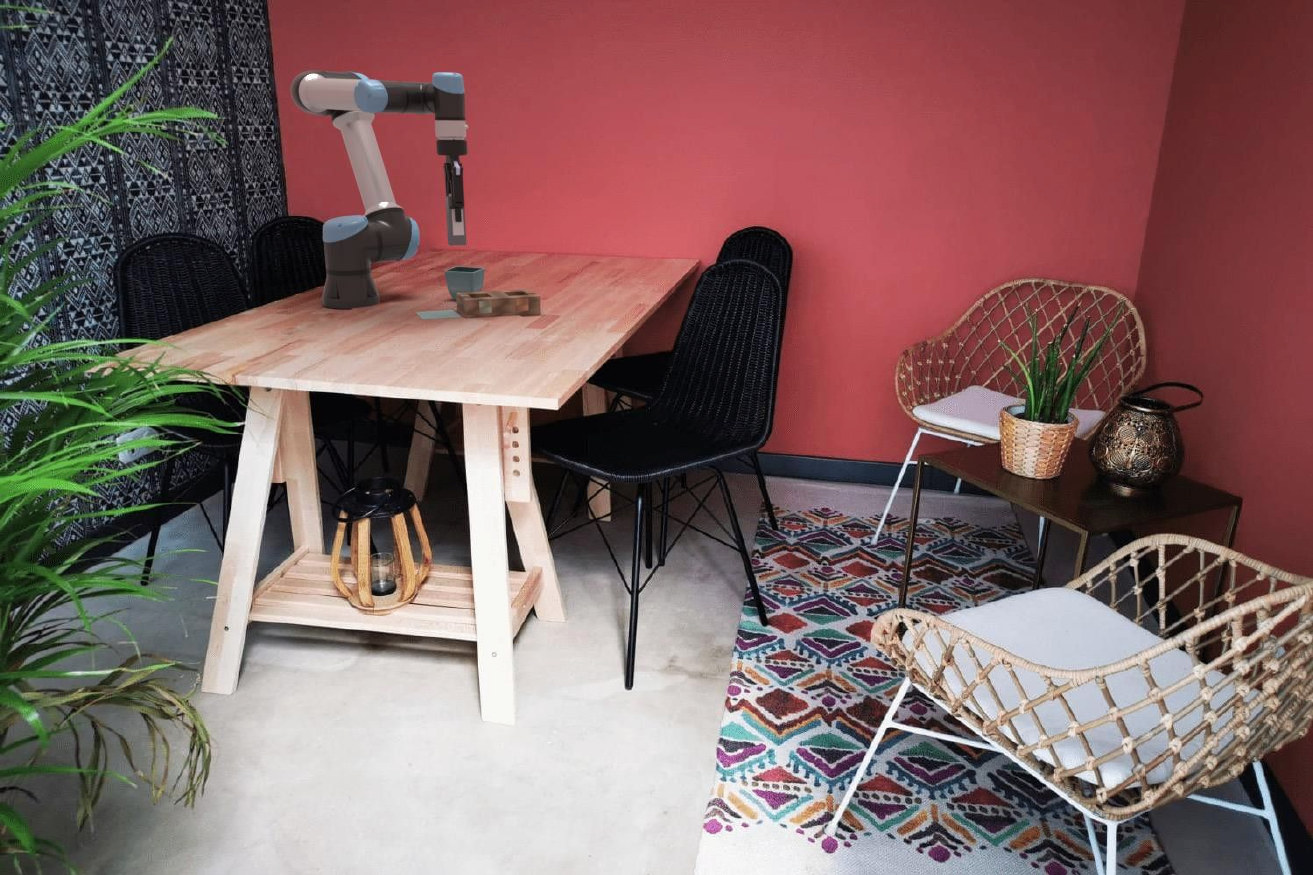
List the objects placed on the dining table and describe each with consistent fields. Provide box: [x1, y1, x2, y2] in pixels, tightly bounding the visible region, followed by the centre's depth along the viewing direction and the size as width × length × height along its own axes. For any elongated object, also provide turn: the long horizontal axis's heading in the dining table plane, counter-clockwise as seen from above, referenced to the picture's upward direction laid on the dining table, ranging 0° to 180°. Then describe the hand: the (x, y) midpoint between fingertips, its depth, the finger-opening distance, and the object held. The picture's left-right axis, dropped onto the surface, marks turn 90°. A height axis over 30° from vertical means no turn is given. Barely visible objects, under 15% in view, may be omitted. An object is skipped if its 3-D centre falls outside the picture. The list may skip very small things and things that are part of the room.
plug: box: [444, 194, 467, 247], centre depth 241 cm, size 4×4×13 cm
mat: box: [415, 309, 462, 321], centre depth 247 cm, size 10×10×1 cm
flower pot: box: [444, 265, 486, 301], centre depth 267 cm, size 9×9×9 cm
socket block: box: [455, 288, 542, 319], centre depth 252 cm, size 20×11×5 cm, turn 114°
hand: (456, 234), depth 242 cm, fingers closed on plug, 4 cm apart
